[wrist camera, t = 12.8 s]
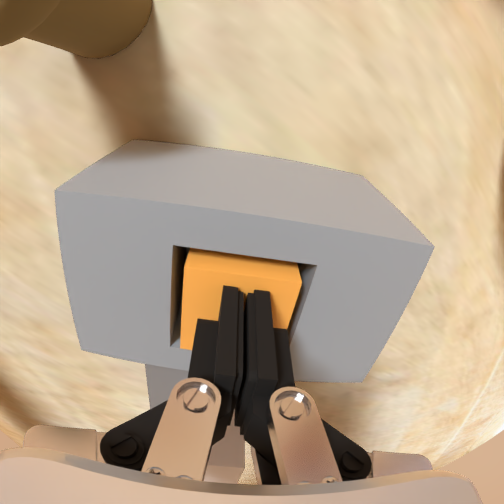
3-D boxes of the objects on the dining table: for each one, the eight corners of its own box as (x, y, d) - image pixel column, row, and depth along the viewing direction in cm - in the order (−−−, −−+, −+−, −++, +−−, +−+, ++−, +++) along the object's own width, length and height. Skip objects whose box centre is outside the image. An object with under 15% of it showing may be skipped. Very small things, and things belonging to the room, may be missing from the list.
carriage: (160, 365, 24) (136, 482, 15) (159, 287, 20) (115, 429, 11) (269, 378, 25) (277, 495, 16) (294, 305, 21) (319, 449, 12)
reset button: (192, 290, 16) (180, 348, 12) (199, 217, 14) (184, 266, 10) (270, 300, 16) (276, 359, 13) (288, 230, 14) (301, 282, 11)
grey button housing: (130, 255, 21) (81, 350, 13) (133, 139, 17) (54, 190, 9) (335, 283, 23) (371, 382, 15) (370, 177, 19) (445, 248, 11)
